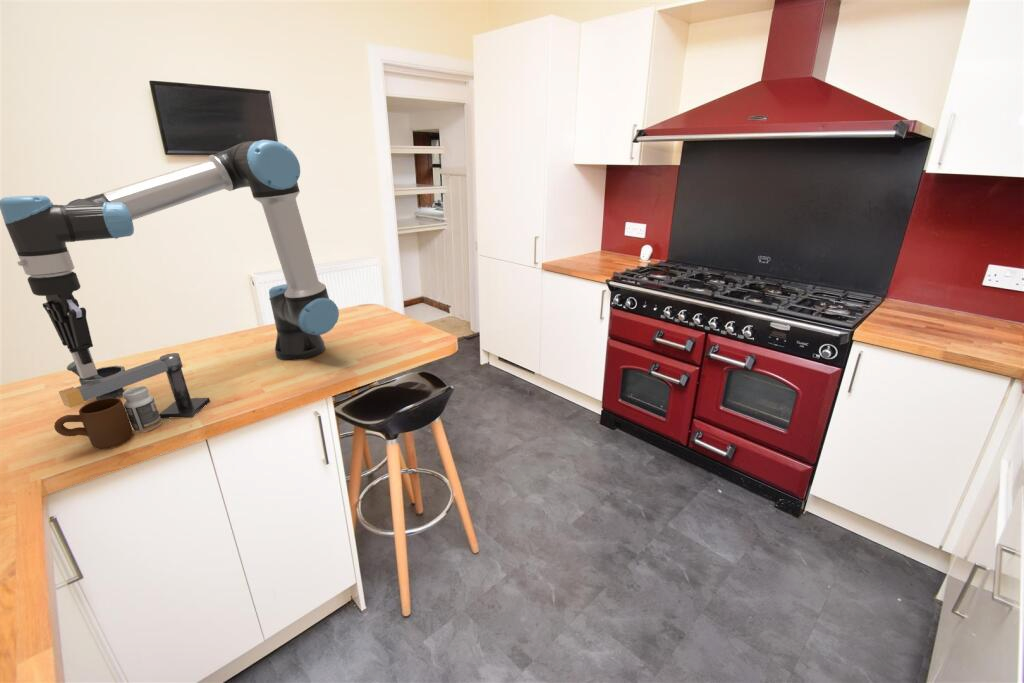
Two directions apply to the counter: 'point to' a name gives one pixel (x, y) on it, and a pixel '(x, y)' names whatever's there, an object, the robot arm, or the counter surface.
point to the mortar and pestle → (101, 374)
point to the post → (182, 398)
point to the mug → (100, 423)
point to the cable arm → (119, 380)
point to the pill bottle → (141, 409)
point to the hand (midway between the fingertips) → (89, 375)
